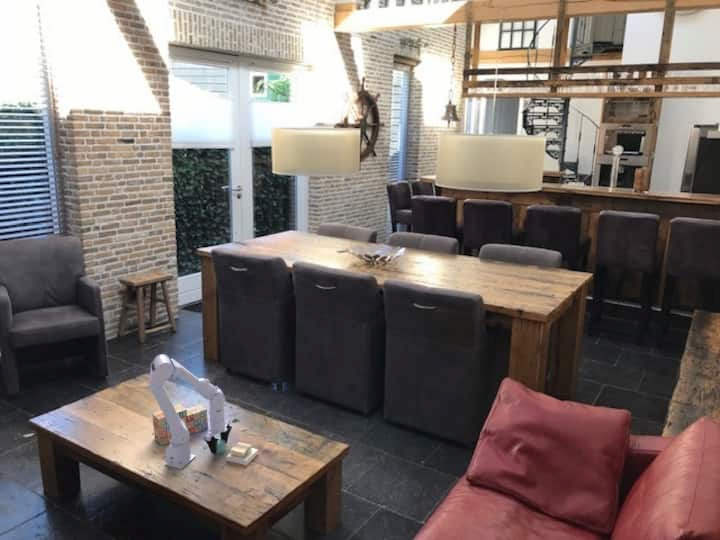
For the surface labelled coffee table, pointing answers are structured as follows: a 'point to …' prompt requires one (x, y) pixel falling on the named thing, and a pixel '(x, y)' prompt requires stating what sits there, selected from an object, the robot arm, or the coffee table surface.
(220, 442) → the teal rounded piece
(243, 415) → the coffee table surface
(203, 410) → the stack of blocks
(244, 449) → the maple block
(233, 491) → the coffee table surface
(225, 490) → the coffee table surface
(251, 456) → the white slab
